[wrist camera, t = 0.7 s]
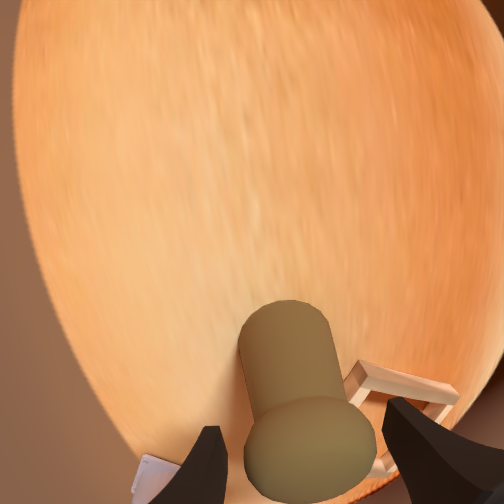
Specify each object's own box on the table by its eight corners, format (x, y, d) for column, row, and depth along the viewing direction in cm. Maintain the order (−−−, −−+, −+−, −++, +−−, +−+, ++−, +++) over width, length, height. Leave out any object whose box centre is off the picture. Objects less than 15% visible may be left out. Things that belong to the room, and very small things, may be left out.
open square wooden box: (381, 464, 22) (387, 477, 20) (287, 454, 21) (289, 471, 19) (449, 384, 20) (460, 396, 18) (358, 359, 19) (368, 375, 17)
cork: (234, 376, 19) (225, 518, 8) (243, 294, 18) (239, 435, 7) (320, 381, 19) (363, 511, 8) (340, 304, 18) (426, 425, 7)
